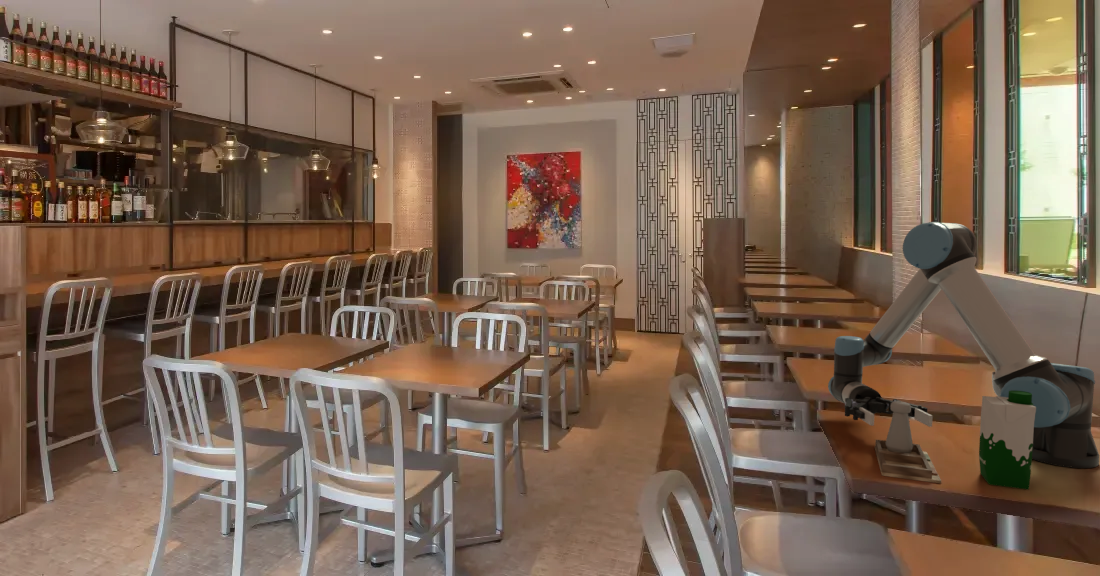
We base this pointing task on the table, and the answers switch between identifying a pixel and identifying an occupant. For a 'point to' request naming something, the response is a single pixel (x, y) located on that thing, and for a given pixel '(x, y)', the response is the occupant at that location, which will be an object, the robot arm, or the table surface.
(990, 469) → the milk carton
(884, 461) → the socket board
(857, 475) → the table surface
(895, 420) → the salt shaker
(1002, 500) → the table surface
